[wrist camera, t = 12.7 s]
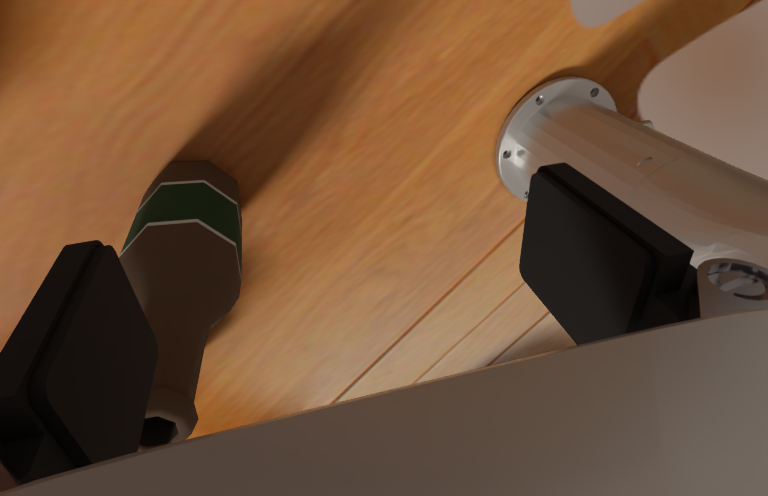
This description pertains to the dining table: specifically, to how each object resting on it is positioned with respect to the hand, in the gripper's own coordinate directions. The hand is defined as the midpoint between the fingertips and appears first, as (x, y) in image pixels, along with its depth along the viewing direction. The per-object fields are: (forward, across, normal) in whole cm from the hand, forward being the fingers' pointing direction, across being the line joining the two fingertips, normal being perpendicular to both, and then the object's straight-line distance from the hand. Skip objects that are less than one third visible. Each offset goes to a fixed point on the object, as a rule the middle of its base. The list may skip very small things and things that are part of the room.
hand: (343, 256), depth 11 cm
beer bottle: (+31, +9, +12) cm, 34 cm away
